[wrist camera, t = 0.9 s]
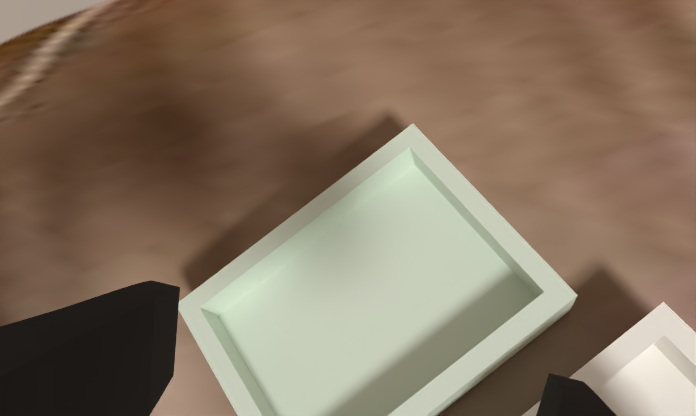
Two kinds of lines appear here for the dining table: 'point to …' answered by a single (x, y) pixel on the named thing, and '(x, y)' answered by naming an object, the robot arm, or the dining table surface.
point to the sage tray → (376, 296)
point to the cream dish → (646, 369)
